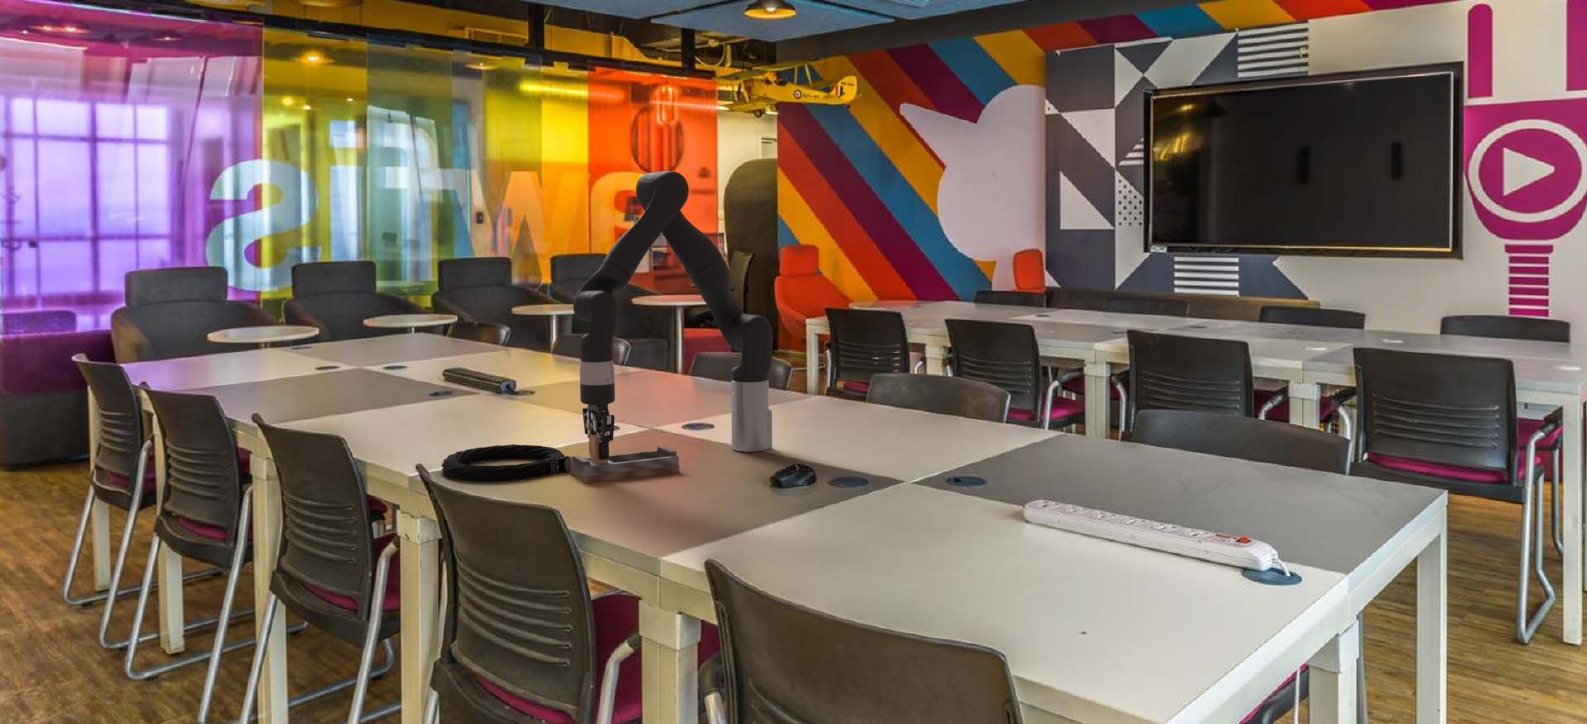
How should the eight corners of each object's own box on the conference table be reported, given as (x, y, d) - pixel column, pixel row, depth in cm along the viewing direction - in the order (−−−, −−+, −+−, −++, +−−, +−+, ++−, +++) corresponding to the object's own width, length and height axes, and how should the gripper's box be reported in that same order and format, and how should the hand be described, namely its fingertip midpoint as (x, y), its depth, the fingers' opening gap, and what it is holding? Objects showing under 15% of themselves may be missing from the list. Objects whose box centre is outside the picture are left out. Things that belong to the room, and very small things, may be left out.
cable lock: (476, 441, 278) (593, 445, 272) (477, 456, 279) (593, 460, 273) (417, 464, 251) (545, 469, 245) (418, 481, 252) (546, 487, 246)
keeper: (605, 465, 258) (604, 432, 257) (615, 470, 252) (614, 436, 251) (583, 467, 255) (582, 434, 254) (593, 473, 250) (592, 438, 249)
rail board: (661, 463, 267) (661, 444, 266) (679, 471, 258) (679, 452, 258) (570, 474, 256) (569, 454, 255) (585, 483, 247) (585, 462, 247)
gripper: (625, 383, 247) (627, 461, 249) (601, 376, 259) (603, 449, 261) (592, 386, 243) (594, 465, 245) (569, 378, 256) (572, 453, 258)
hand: (599, 456), depth 253 cm, fingers open, 5 cm apart
